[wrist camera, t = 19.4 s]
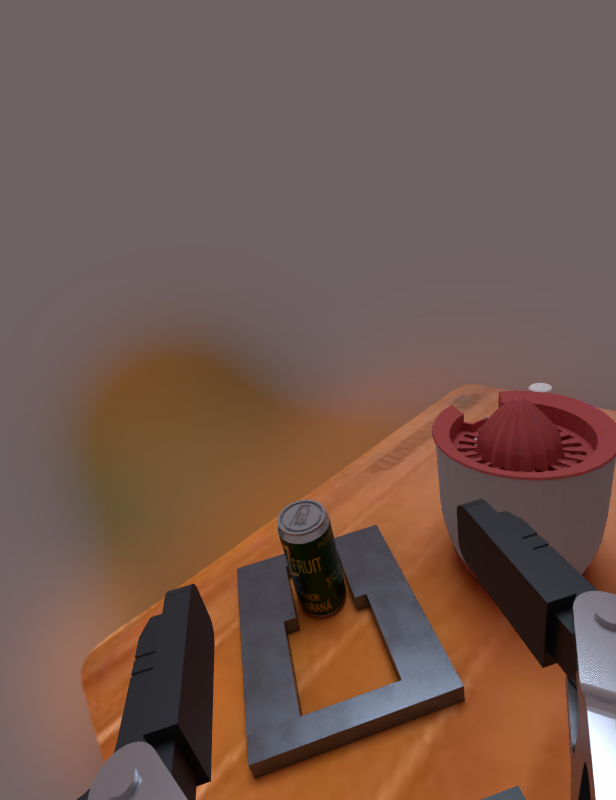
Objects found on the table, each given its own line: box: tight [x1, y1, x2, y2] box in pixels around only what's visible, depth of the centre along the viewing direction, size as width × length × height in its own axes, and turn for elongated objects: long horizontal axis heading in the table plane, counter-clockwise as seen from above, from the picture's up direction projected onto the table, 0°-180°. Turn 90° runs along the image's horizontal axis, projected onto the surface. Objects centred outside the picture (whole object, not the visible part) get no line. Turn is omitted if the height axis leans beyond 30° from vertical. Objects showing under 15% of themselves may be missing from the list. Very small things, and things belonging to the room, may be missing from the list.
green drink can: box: [277, 500, 346, 617], centre depth 43 cm, size 5×5×12 cm
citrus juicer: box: [432, 391, 616, 582], centre depth 42 cm, size 16×17×20 cm
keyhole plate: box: [237, 525, 465, 778], centre depth 41 cm, size 20×18×2 cm
